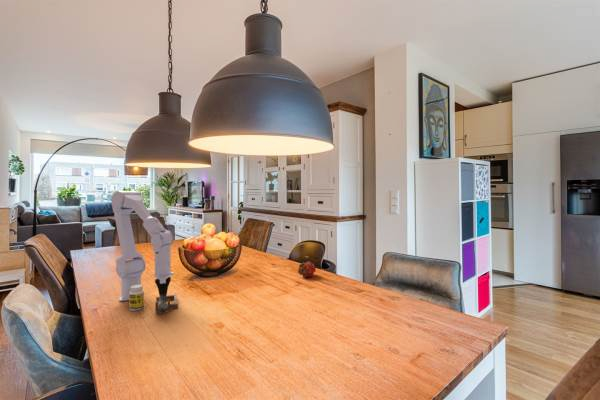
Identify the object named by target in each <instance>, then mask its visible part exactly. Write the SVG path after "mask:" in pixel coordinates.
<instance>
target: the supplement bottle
mask: <svg viewBox="0 0 600 400" xmlns="http://www.w3.org/2000/svg"><path fill="white" fill-rule="evenodd" d="M130 291H131V292H130V293H129V300H128V302H129V305H128V309H129V310H130V311H133V312H134V311H140V310H143V309H144V308H145V302H144V301H145V300H144V297H145V295H144V294H145V292H144V290H143V285H142V284H141V285H134V286H131V287H130Z"/></svg>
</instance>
